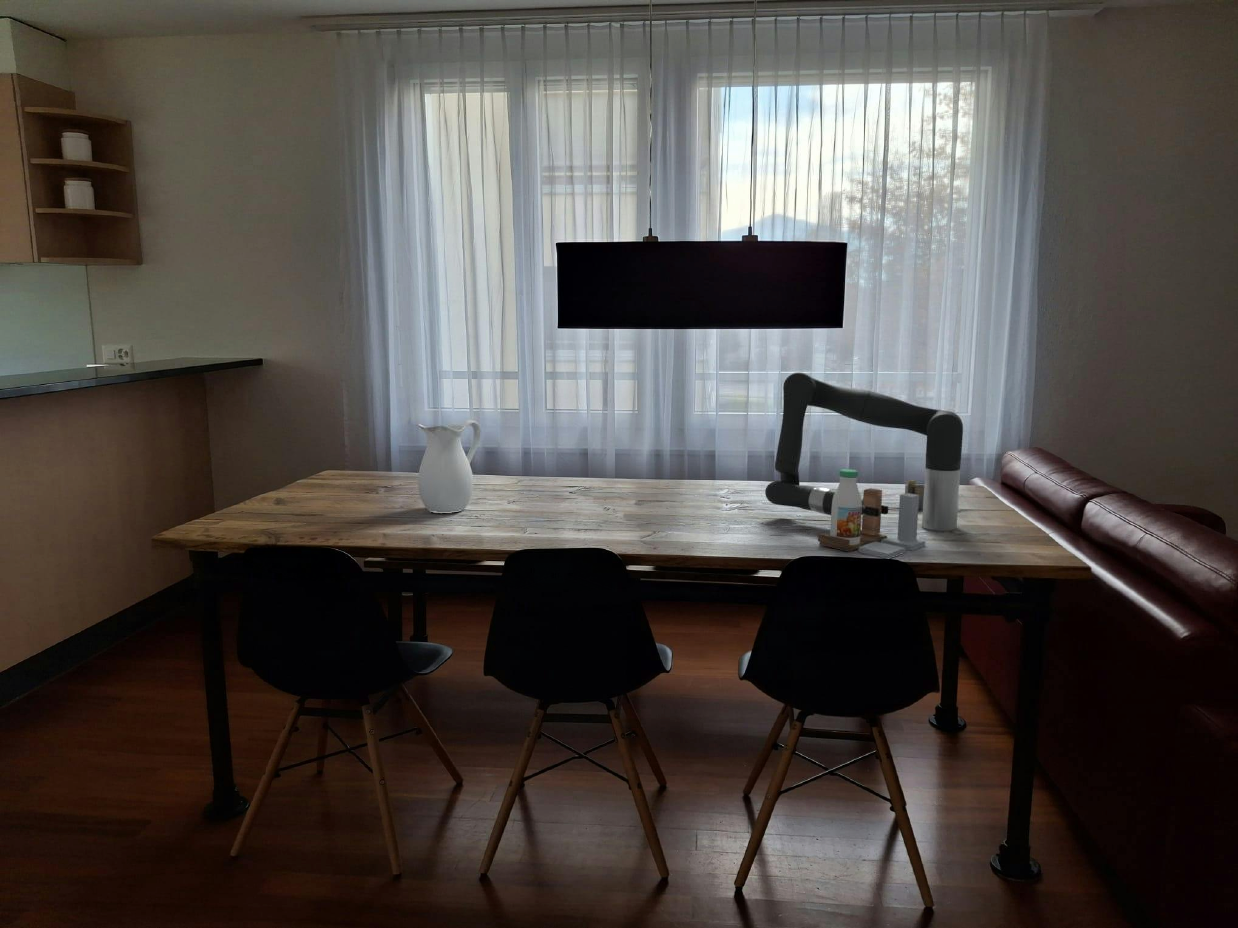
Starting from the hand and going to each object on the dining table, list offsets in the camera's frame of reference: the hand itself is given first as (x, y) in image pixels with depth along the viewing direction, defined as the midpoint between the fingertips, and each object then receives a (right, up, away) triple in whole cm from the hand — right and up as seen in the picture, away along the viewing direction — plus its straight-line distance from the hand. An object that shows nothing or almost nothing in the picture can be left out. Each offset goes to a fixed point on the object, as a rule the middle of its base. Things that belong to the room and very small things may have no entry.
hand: (883, 511), depth 227 cm
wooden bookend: (-8, -8, -2) cm, 12 cm away
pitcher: (-123, -1, +40) cm, 130 cm away
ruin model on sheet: (+25, -2, +40) cm, 47 cm away
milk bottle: (-12, -9, -5) cm, 15 cm away
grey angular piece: (0, -9, -8) cm, 12 cm away
